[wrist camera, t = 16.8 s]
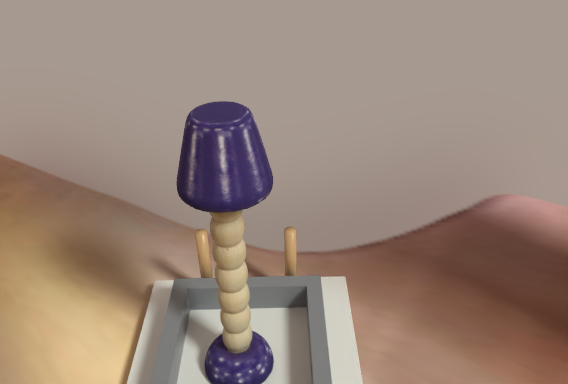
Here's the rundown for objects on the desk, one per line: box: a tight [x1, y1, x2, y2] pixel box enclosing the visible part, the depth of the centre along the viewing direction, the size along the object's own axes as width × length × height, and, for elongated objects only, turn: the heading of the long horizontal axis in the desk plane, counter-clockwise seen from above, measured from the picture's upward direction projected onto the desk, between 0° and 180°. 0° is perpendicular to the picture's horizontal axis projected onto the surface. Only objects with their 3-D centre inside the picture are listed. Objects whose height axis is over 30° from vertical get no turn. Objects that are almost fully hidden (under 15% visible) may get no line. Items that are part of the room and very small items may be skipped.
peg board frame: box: [127, 227, 363, 384], centre depth 32 cm, size 14×14×6 cm
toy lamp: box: [177, 101, 274, 384], centre depth 28 cm, size 5×5×17 cm
